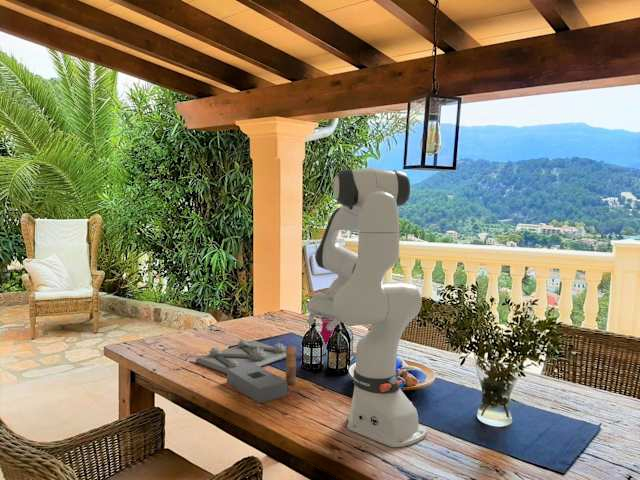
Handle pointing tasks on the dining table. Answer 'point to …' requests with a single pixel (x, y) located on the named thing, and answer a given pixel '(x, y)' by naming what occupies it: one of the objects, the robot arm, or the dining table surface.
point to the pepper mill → (324, 331)
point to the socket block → (257, 382)
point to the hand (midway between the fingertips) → (318, 326)
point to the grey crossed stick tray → (243, 355)
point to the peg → (290, 364)
